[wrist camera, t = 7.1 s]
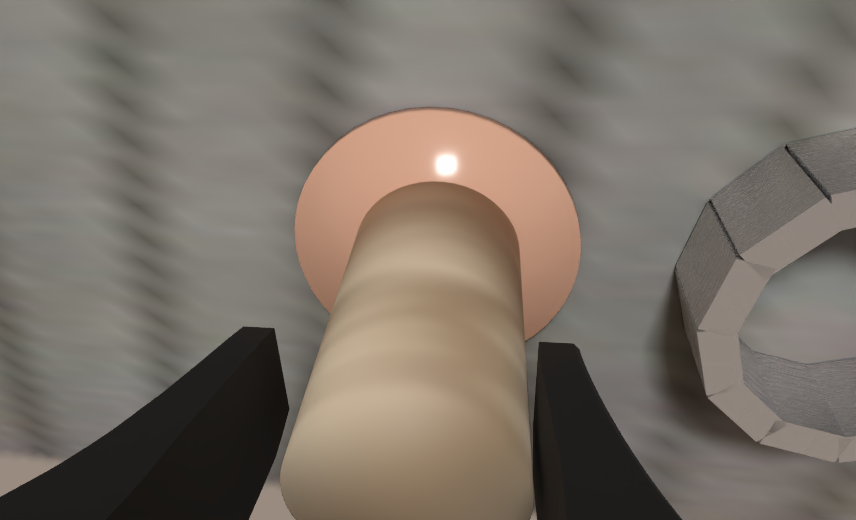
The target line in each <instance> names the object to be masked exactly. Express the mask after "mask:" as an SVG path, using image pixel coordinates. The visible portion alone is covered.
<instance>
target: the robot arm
mask: <svg viewBox="0 0 856 520" xmlns="http://www.w3.org/2000/svg"><path fill="white" fill-rule="evenodd" d="M288 412H289V405H288V399H287V394H286V388H285V383H284V378H283V372H282V367H281V362H280V356H279V351H278V346H277V340H276V335H275V329H274V328H260V327H242V328H241V329H240V330H238V331H237V332H236V333H235V334H233V335H232V336H231V337H230V338H228V339H227V340H226V341H225V342H224V343H222V344H221V345H220V346H219V347H218V348H216V349H215V350H214V351H213V352H212V353H210V354H209V355H208V356H207V357H206V358H204V359H203V360H202V361H201V362H200V363H198V364H197V365H196V366H195V367H194V368H192V369H191V370H190V371H189V372H187V373H186V374H185V375H184V376H183V377H181V378H180V379H179V380H178V381H176V382H175V383H174V384H173V385H171V386H170V387H169V388H168V389H167V390H165V391H164V392H163V393H162V394H160V395H159V396H158V397H156V398H155V399H154V400H152V401H151V402H150V403H148V404H147V405H145V406H144V407H143V408H141V409H140V410H139V411H137V412H136V413H135V414H133V415H132V416H131V417H129V418H128V419H127V420H125V421H124V422H123V423H121V424H120V425H119V426H117V427H116V428H114V429H113V430H111V431H110V432H109V433H107V434H106V435H104V436H103V437H101V438H100V439H98V440H97V441H95V442H94V443H92V444H91V445H89V446H88V447H86V448H84V449H83V450H81V451H80V452H78V453H76V454H75V455H73V456H72V457H70V458H68V459H67V460H65V461H64V462H62V463H60V464H59V465H57V466H55V467H54V468H52V469H50V470H49V471H47V472H45V473H43V474H42V475H40V476H38V477H36V478H34V479H32V480H31V481H29V482H27V483H25V484H23V485H21V486H19V487H18V488H16V489H14V490H12V491H10V492H8V493H7V494H5V495H3V496H1V497H0V520H249V517H250V515H251V513H252V511H253V508H254V506H255V504H256V502H257V499H258V497H259V495H260V493H261V490H262V488H263V486H264V483H265V481H266V479H267V476H268V474H269V472H270V469H271V467H272V464H273V462H274V460H275V457H276V454H277V451H278V447H279V444H280V441H281V437H282V434H283V430H284V427H285V423H286V419H287V416H288ZM533 482H534V493H535V503H536V513H537V520H682V519H681V518H680V516H679V515H678V514H677V513H676V511H675V510H674V509H673V508H672V506H671V505H670V504H669V502H668V501H667V500H666V499H665V497H664V496H663V495H662V493H661V492H660V491H659V489H658V488H657V487H656V485H655V484H654V483H653V481H652V480H651V478H650V477H649V476H648V474H647V473H646V471H645V470H644V468H643V467H642V465H641V464H640V463H639V461H638V460H637V458H636V457H635V455H634V454H633V452H632V451H631V449H630V447H629V446H628V444H627V443H626V441H625V440H624V438H623V436H622V435H621V433H620V431H619V430H618V428H617V426H616V424H615V423H614V421H613V419H612V418H611V416H610V414H609V412H608V411H607V409H606V407H605V405H604V403H603V402H602V400H601V398H600V396H599V394H598V392H597V390H596V388H595V386H594V384H593V382H592V380H591V378H590V375H589V373H588V371H587V369H586V366H585V364H584V361H583V359H582V356H581V353H580V350H579V349H578V348H577V347H576V346H575V345H574V344H570V343H551V342H539V348H538V363H537V377H536V392H535V407H534V421H533Z"/></svg>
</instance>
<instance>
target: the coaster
mask: <svg viewBox="0 0 856 520" xmlns="http://www.w3.org/2000/svg"><path fill="white" fill-rule="evenodd" d="M430 181H436V182H448V183H454V184H458V185H462V186H465V187H468V188H470V189H473V190H475V191H477V192H479V193H481V194H483V195H484V196H486V197H487V198H489V199H490V200H492V201H493V202H494V203H495V204H496V205H497V206H498V207H500V208H501V209H502V211H503V212H504V213H505V214H506V216H507V217H508V218H509V220H510V221H511V223H512V225H513V227H514V229H515V232H516V234H517V237H518V241H519V248H520V264H521V281H522V299H523V316H524V334H525V341H526V340H528V339H529V338H531V337H532V336H534V335H535V334H536V333H537V332H539V331H540V330H541V329H542V328H543V327H545V326H546V325H547V324H548V323H549V322H550V321H551V319H552V318H553V317H554V316H555V315H556V314H557V313H558V311H559V310H560V308H561V307H562V305H563V304H564V303H565V301H566V299H567V297H568V295H569V293H570V291H571V289H572V287H573V285H574V282H575V279H576V276H577V272H578V268H579V262H580V255H581V236H580V229H579V223H578V216H577V211H576V208H575V205H574V202H573V198H572V196H571V193H570V191H569V189H568V187H567V185H566V183H565V181H564V179H563V178H562V176H561V175H560V173H559V172H558V170H557V169H556V167H555V166H554V165H553V163H552V162H551V161H550V160H549V159H548V158H547V157H546V156H545V155H544V153H543V152H542V151H541V150H540V149H539V148H537V147H536V146H535V145H534V144H533V143H531V142H530V141H529V140H528V139H527V138H525V137H524V136H522V135H521V134H519V133H518V132H516V131H514V130H513V129H511V128H510V127H508V126H506V125H504V124H502V123H499V122H497V121H495V120H493V119H491V118H488V117H485V116H482V115H479V114H476V113H473V112H469V111H463V110H458V109H453V108H440V107H421V108H409V109H404V110H399V111H394V112H390V113H387V114H384V115H381V116H378V117H375V118H372V119H370V120H368V121H366V122H364V123H362V124H360V125H359V126H357V127H355V128H353V129H352V130H351V131H349V132H348V133H346V134H345V135H343V136H342V137H341V138H339V139H338V140H337V141H336V142H335V143H334V144H333V145H332V146H331V147H330V148H329V149H328V150H327V151H326V152H325V154H324V155H323V156H322V158H321V159H320V160H319V162H318V163H317V164H316V166H315V167H314V169H313V170H312V172H311V174H310V176H309V178H308V179H307V181H306V183H305V185H304V187H303V190H302V193H301V195H300V198H299V201H298V206H297V211H296V216H295V241H296V249H297V254H298V258H299V262H300V265H301V268H302V270H303V273H304V275H305V278H306V280H307V282H308V283H309V285H310V287H311V289H312V291H313V292H314V294H315V295H316V297H317V298H318V299H319V301H320V302H321V304H322V305H323V306H324V307H325V308H326V309H327V311H328V312H329V313H330V314H331V312H332V309H333V306H334V303H335V300H336V297H337V294H338V291H339V288H340V284H341V281H342V278H343V275H344V272H345V269H346V266H347V263H348V260H349V257H350V254H351V251H352V248H353V245H354V241H355V238H356V235H357V232H358V229H359V227H360V224H361V222H362V220H363V218H364V217H365V215H366V213H367V212H368V211H369V210H370V208H371V207H372V206H373V205H374V204H375V203H376V202H377V201H379V200H380V199H381V198H382V197H384V196H385V195H387V194H388V193H390V192H392V191H394V190H396V189H398V188H401V187H404V186H407V185H410V184H415V183H419V182H430Z"/></svg>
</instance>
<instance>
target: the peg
mask: <svg viewBox="0 0 856 520" xmlns="http://www.w3.org/2000/svg"><path fill="white" fill-rule="evenodd" d="M280 486H281V491H282V496H283V498H284V501H285V503H286V505H287V507H288V509H289V511H290V512H291V514H292V516H293V517H294V518H295V519H296V520H530V518H531V515H532V512H533V504H534V492H533V475H532V457H531V439H530V422H529V404H528V387H527V369H526V351H525V334H524V316H523V299H522V281H521V264H520V248H519V241H518V237H517V234H516V232H515V229H514V227H513V225H512V223H511V221H510V220H509V218H508V217H507V216H506V214H505V213H504V212H503V211H502V209H501V208H500V207H498V206H497V205H496V204H495V203H494V202H493V201H492V200H490V199H489V198H487V197H486V196H484V195H483V194H481V193H479V192H477V191H475V190H473V189H470V188H468V187H465V186H462V185H458V184H454V183H448V182H436V181H430V182H419V183H415V184H410V185H407V186H404V187H401V188H398V189H396V190H394V191H392V192H390V193H388V194H387V195H385V196H384V197H382V198H381V199H380V200H379V201H377V202H376V203H375V204H374V205H373V206H372V207H371V208H370V210H369V211H368V212H367V213H366V215H365V217H364V218H363V220H362V222H361V224H360V227H359V229H358V232H357V235H356V238H355V241H354V245H353V248H352V251H351V254H350V257H349V260H348V263H347V266H346V269H345V272H344V275H343V278H342V281H341V284H340V288H339V291H338V294H337V297H336V300H335V303H334V306H333V309H332V312H331V315H330V318H329V321H328V324H327V327H326V331H325V334H324V337H323V340H322V343H321V346H320V349H319V352H318V355H317V358H316V361H315V364H314V367H313V370H312V373H311V377H310V380H309V383H308V386H307V389H306V392H305V395H304V398H303V401H302V404H301V407H300V410H299V413H298V416H297V420H296V423H295V426H294V429H293V432H292V435H291V438H290V441H289V444H288V447H287V450H286V453H285V456H284V459H283V463H282V467H281V472H280Z"/></svg>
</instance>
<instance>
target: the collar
mask: <svg viewBox="0 0 856 520" xmlns="http://www.w3.org/2000/svg"><path fill="white" fill-rule="evenodd" d="M711 201H712V203H709V202H707V204H706V206H705V208H704V210H703V212H702V214H701V216H700V218H699V220H698V222H697V224H696V226H695V228H694V230H693V232H692V234H691V236H690V238H689V240H688V242H687V244H686V246H685V248H684V250H683V252H682V254H681V256H680V258H679V260H678V262H677V264H676V270H675V273H676V279H677V286H678V292H679V298H680V304H681V310H682V317H683V323H684V328H685V331H686V335H687V338H688V341H689V344H690V347H691V350H692V353H693V356H694V359H695V362H696V365H697V368H698V371H699V374H700V377H701V380H702V384H703V387H704V390H705V393H706V395H707V397H708V399H709V400H711V401H712V402H713V403H714V404H715V405H716V406H717V407H718V408H719V409H720V410H722V411H723V412H724V413H725V414H726V415H727V416H728V417H729V418H730V419H731V420H733V421H734V422H735V423H736V424H737V425H738V426H739V427H740V428H741V429H742V430H744V431H745V432H746V433H747V434H748V435H749V436H750V437H751V438H752V439H754V440H755V441H756V442H757V441H759V443H760V444H763V445H767V446H771V447H775V448H779V449H783V450H787V451H791V452H795V453H799V454H803V455H807V456H811V457H815V458H819V459H823V460H827V461H831V462H835V461H836V460H838V462H839V463H840V462H849V461H856V358H854V359H847V360H840V361H833V362H826V363H819V364H812V365H805V364H801V363H797V362H793V361H789V360H785V359H781V358H777V357H773V356H769V355H765V354H761V353H757V352H753V351H751V350H750V349H749V348H748V347H747V346H746V345H745V344H744V343H743V342H742V341H741V340H740V339H739V338H738V331H739V329H740V328H741V326H742V324H743V323H744V321H745V319H746V317H747V316H748V314H749V312H750V311H751V309H752V307H753V306H754V304H755V302H756V301H757V299H758V297H759V296H760V294H761V292H762V291H763V289H764V287H765V286H766V284H767V282H768V281H769V279H770V277H771V276H772V275H773V274H775V273H776V272H778V271H779V270H781V269H782V268H784V267H786V266H787V265H789V264H790V263H792V262H793V261H795V260H796V259H798V258H800V257H801V256H803V255H804V254H806V253H807V252H809V251H810V250H812V249H814V248H815V247H817V246H818V245H820V244H821V243H823V242H824V241H826V240H828V239H829V238H831V237H832V236H834V235H835V234H837V233H839V232H840V231H842V230H846V229H851V228H856V128H855V129H851V130H846V131H842V132H837V133H833V134H828V135H824V136H820V137H815V138H811V139H806V140H802V141H797V142H793V143H788V144H787V151H786V150H785V149H784V147H783V146H782V147H780V148H779V149H777V150H776V151H775V152H773V153H772V154H771V155H769V156H768V157H767V158H765V159H764V160H762V161H761V162H760V163H758V164H757V165H756V166H754V167H753V168H752V169H750V170H749V171H747V172H746V173H745V174H743V175H742V176H741V177H739V178H738V179H737V180H735V181H734V182H732V183H731V184H730V185H728V186H727V187H726V188H724V189H723V190H722V191H720V192H719V193H717V194H716V195H715V196H713V197H712V198H711Z"/></svg>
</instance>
